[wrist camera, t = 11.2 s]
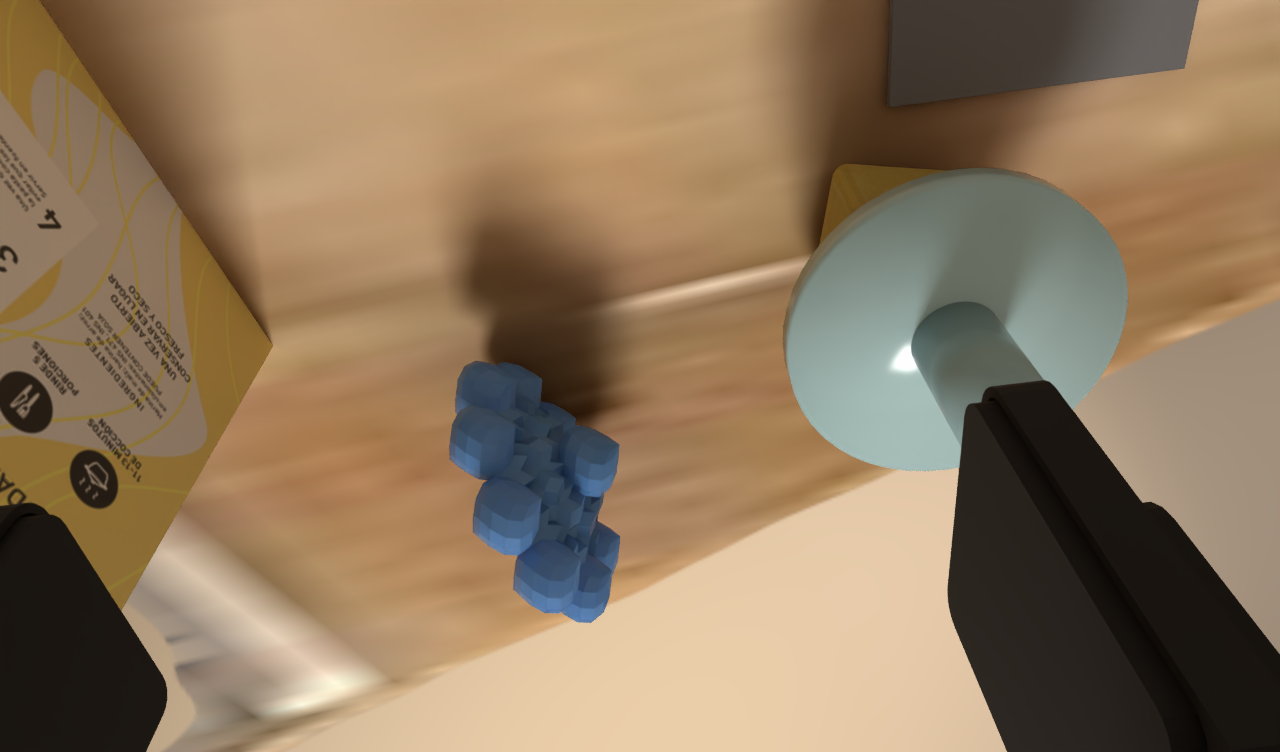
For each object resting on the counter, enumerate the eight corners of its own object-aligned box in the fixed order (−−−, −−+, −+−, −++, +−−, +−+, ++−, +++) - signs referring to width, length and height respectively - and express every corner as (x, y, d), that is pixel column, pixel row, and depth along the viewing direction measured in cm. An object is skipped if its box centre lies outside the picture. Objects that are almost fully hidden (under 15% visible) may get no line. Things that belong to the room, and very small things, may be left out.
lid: (776, 192, 30) (813, 277, 25) (1139, 145, 30) (1253, 222, 25) (787, 468, 37) (818, 581, 32) (1084, 433, 36) (1165, 541, 31)
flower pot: (772, 304, 43) (809, 415, 35) (803, 122, 38) (854, 206, 31) (952, 312, 43) (1026, 423, 36) (1005, 134, 39) (1103, 220, 31)
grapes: (675, 450, 47) (696, 629, 37) (567, 502, 49) (559, 687, 39) (552, 282, 42) (537, 441, 32) (434, 348, 43) (385, 518, 33)
